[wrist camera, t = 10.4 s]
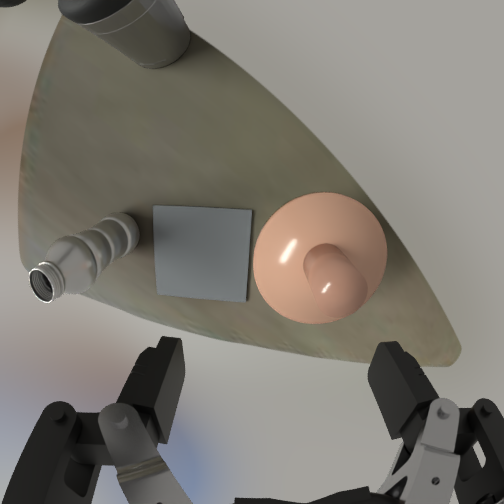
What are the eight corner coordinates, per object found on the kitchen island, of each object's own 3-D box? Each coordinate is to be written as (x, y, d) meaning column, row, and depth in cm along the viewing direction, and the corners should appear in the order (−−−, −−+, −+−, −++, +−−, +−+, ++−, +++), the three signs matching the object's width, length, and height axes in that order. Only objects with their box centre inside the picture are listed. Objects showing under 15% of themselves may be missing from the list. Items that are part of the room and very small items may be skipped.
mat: (153, 204, 37) (152, 205, 37) (251, 209, 37) (251, 210, 37) (158, 293, 42) (157, 294, 41) (245, 301, 42) (245, 302, 41)
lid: (258, 185, 23) (258, 195, 17) (392, 200, 23) (432, 215, 17) (249, 316, 28) (247, 360, 21) (367, 318, 28) (391, 358, 21)
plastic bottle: (109, 205, 37) (16, 244, 18) (147, 215, 38) (64, 265, 19) (104, 244, 39) (22, 302, 20) (141, 255, 40) (68, 326, 21)
